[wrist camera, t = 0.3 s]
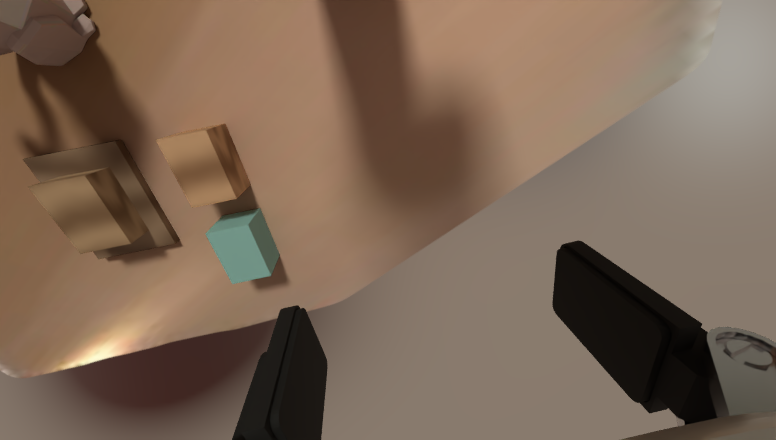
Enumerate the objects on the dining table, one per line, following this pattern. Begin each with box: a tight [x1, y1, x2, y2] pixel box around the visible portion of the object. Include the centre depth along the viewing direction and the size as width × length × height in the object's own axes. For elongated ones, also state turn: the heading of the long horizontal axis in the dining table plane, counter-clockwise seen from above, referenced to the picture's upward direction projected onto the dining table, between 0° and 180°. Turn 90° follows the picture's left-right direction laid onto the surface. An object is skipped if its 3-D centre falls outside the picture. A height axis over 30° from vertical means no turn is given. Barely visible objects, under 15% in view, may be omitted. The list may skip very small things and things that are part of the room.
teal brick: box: [206, 208, 280, 284], centre depth 45 cm, size 9×6×6 cm, turn 10°
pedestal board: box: [23, 140, 179, 259], centre depth 40 cm, size 16×12×5 cm
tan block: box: [156, 124, 251, 208], centre depth 39 cm, size 9×6×6 cm, turn 10°
